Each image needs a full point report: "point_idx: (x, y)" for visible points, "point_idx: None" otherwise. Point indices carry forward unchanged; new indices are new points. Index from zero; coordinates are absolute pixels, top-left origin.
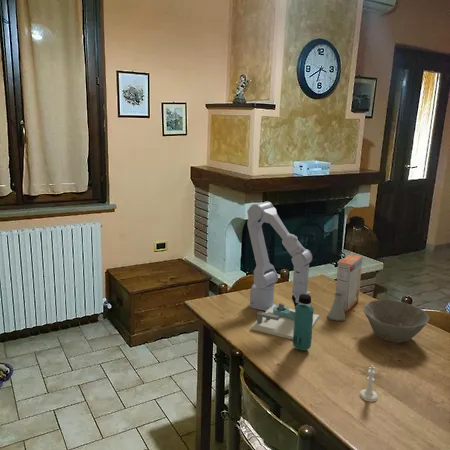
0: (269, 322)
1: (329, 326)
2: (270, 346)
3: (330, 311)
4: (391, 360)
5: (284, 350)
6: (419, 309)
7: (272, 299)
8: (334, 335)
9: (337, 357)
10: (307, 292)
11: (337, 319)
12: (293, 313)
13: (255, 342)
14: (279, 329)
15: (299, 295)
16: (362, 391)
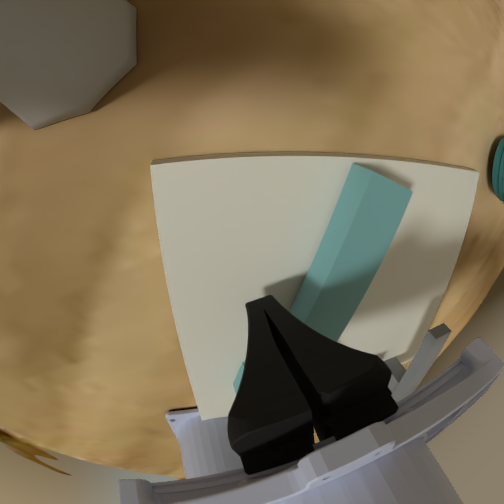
0: (383, 346)
1: (268, 41)
2: (482, 255)
3: (72, 83)
4: None
5: (496, 211)
6: None
7: (228, 448)
8: (375, 12)
9: (491, 38)
10: (369, 462)
11: (130, 10)
12: (321, 326)
13: (465, 298)
14: (431, 288)
15: (442, 422)
16: None
